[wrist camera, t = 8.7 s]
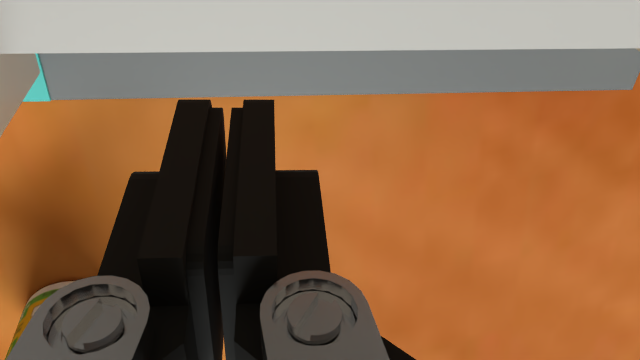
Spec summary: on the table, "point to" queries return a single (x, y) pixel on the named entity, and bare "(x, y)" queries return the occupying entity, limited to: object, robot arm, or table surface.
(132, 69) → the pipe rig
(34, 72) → the white block
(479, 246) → the table surface
